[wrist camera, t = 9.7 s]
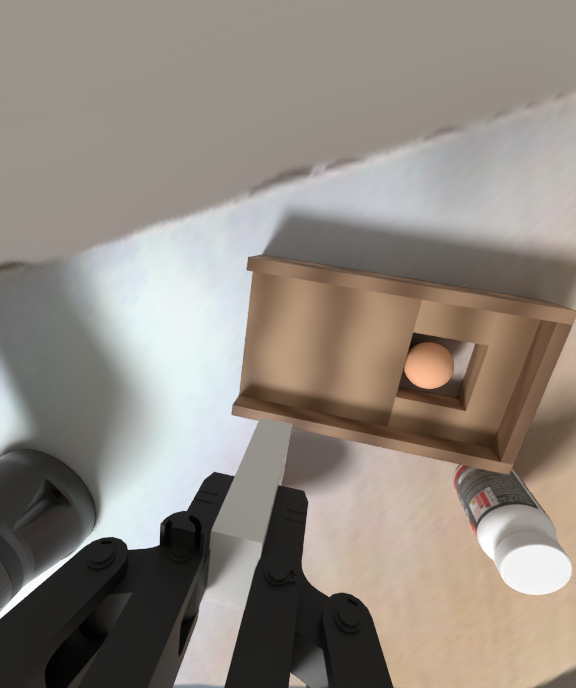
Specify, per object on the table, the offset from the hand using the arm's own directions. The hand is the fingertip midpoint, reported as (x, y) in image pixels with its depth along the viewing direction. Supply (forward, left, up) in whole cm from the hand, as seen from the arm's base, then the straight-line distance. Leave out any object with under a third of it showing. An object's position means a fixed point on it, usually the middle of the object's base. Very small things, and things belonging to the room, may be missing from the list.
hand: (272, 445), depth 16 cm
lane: (+6, 0, -17) cm, 19 cm away
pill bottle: (+19, -11, -18) cm, 28 cm away
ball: (+11, 0, -17) cm, 21 cm away
